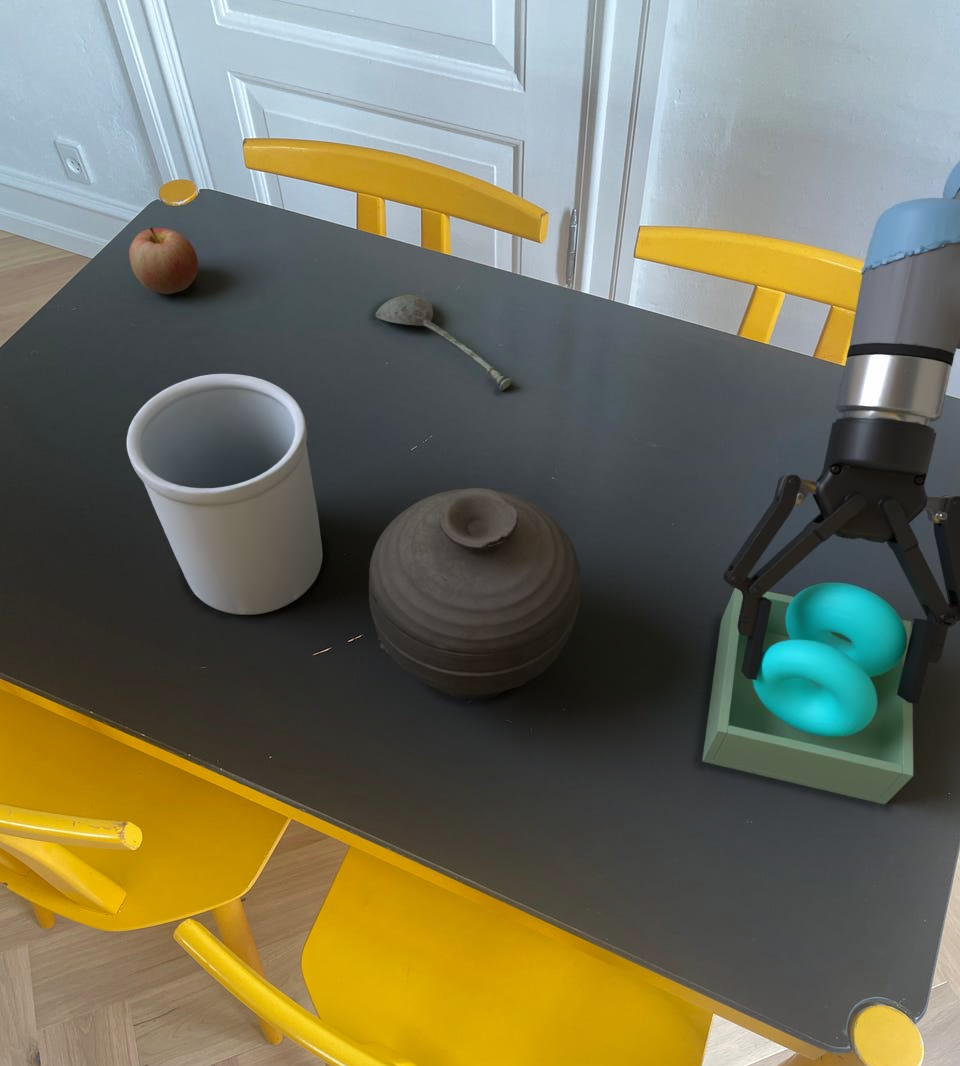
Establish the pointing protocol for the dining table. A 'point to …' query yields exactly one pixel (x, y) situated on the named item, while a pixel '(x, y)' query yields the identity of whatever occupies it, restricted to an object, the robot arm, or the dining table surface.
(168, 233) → the apple
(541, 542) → the pot
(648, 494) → the dining table surface
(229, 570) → the utensil holder
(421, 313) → the soupspoon
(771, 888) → the dining table surface
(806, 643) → the donuts
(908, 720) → the bin
